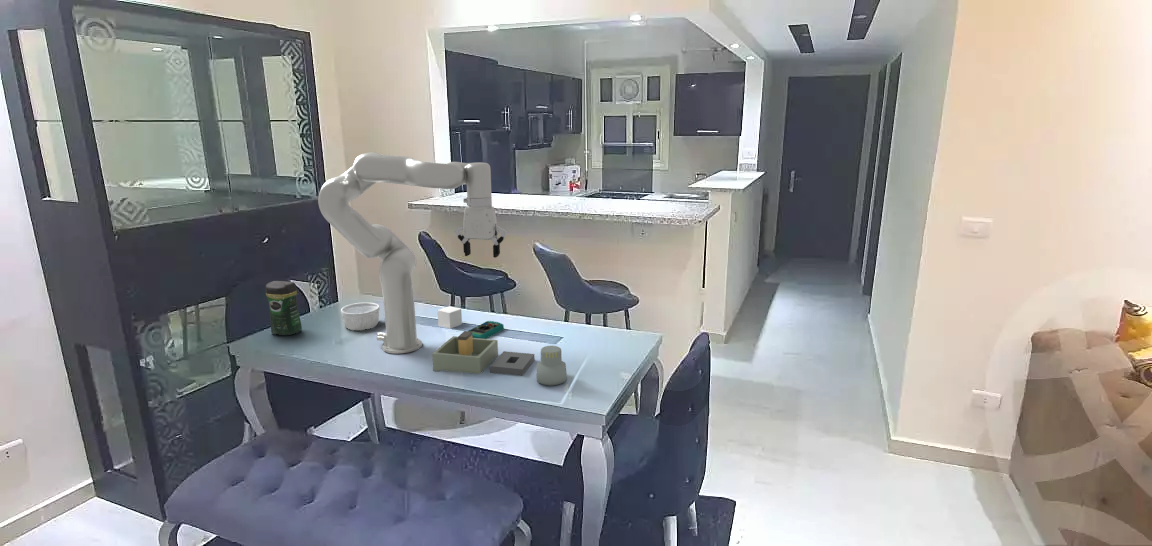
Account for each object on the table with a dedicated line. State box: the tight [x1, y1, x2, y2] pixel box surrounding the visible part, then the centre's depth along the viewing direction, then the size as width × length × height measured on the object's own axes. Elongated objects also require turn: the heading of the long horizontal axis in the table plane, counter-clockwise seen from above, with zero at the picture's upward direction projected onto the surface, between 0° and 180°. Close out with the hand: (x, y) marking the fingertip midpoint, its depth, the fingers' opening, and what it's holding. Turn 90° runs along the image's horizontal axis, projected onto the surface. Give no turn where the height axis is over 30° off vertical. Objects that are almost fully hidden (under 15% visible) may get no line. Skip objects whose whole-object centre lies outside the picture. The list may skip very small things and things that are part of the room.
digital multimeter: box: [468, 320, 504, 339], centre depth 212 cm, size 7×15×3 cm, turn 153°
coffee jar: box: [265, 280, 303, 336], centre depth 212 cm, size 10×8×19 cm
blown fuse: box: [457, 330, 473, 356], centre depth 186 cm, size 2×5×9 cm, turn 167°
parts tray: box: [431, 335, 499, 375], centre depth 187 cm, size 15×15×6 cm
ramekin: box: [340, 302, 380, 331], centre depth 220 cm, size 13×13×7 cm
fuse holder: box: [489, 351, 536, 376], centre depth 184 cm, size 10×12×2 cm
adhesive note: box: [437, 305, 463, 329], centre depth 221 cm, size 6×6×6 cm
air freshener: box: [536, 345, 568, 387], centre depth 173 cm, size 11×8×10 cm
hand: (481, 255), depth 195 cm, fingers open, 9 cm apart
